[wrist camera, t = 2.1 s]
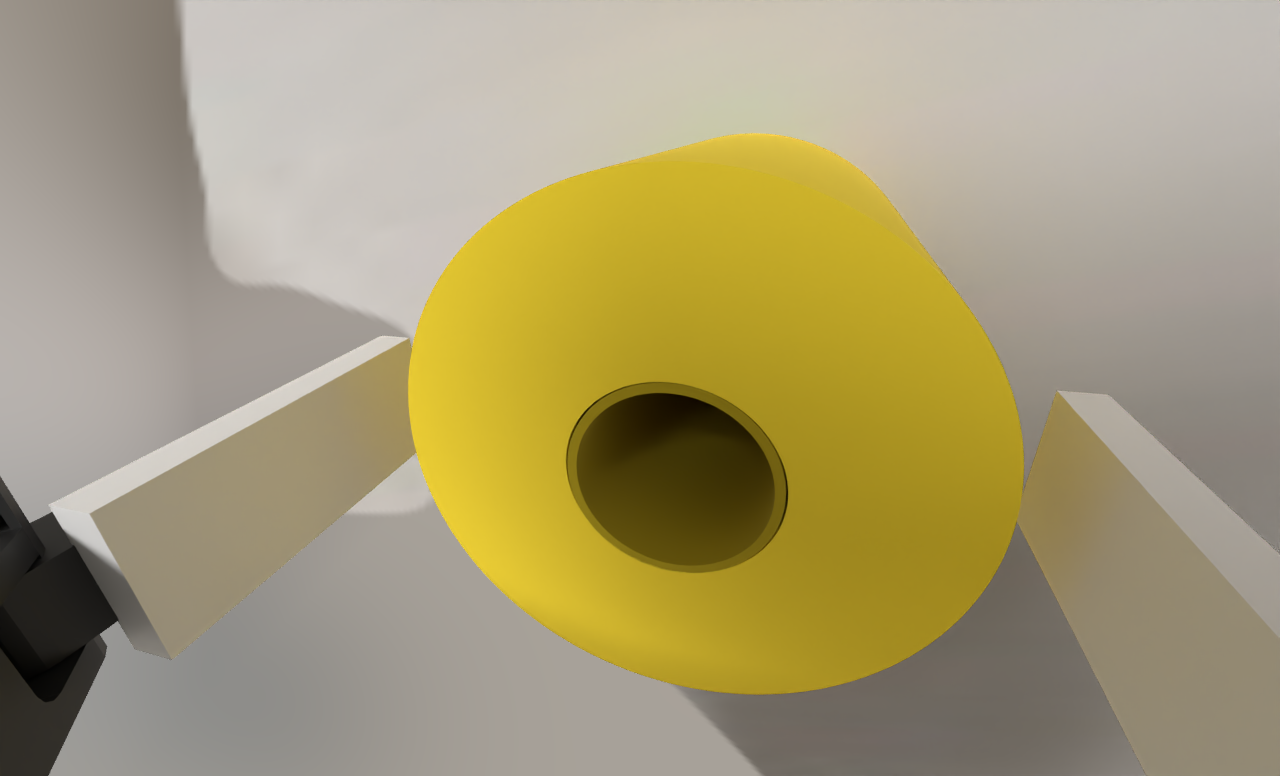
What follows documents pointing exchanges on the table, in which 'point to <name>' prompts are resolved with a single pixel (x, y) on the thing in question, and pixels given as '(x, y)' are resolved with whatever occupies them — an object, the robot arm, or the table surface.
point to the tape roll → (718, 419)
